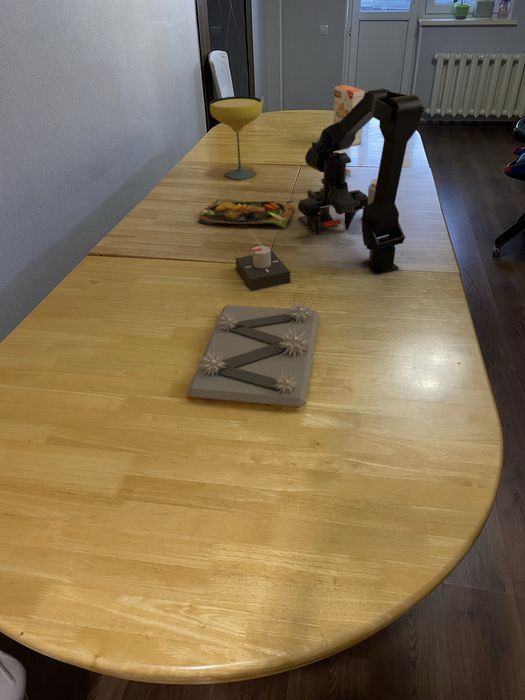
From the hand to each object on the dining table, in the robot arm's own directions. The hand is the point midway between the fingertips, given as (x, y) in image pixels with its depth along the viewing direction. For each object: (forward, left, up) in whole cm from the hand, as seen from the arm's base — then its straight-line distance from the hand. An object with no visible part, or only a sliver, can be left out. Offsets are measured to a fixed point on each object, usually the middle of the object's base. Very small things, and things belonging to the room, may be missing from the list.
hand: (331, 232), depth 146 cm
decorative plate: (-45, +38, -1) cm, 59 cm away
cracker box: (+83, -48, -1) cm, 96 cm away
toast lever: (+6, 0, +4) cm, 7 cm away
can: (+3, -17, -1) cm, 17 cm away
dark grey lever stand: (+9, 0, -1) cm, 9 cm away
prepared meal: (+23, +17, -1) cm, 29 cm away
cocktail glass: (+62, +7, -1) cm, 63 cm away
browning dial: (-14, +26, +2) cm, 29 cm away
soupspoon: (+38, -23, -1) cm, 45 cm away
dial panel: (-14, +26, -1) cm, 29 cm away
